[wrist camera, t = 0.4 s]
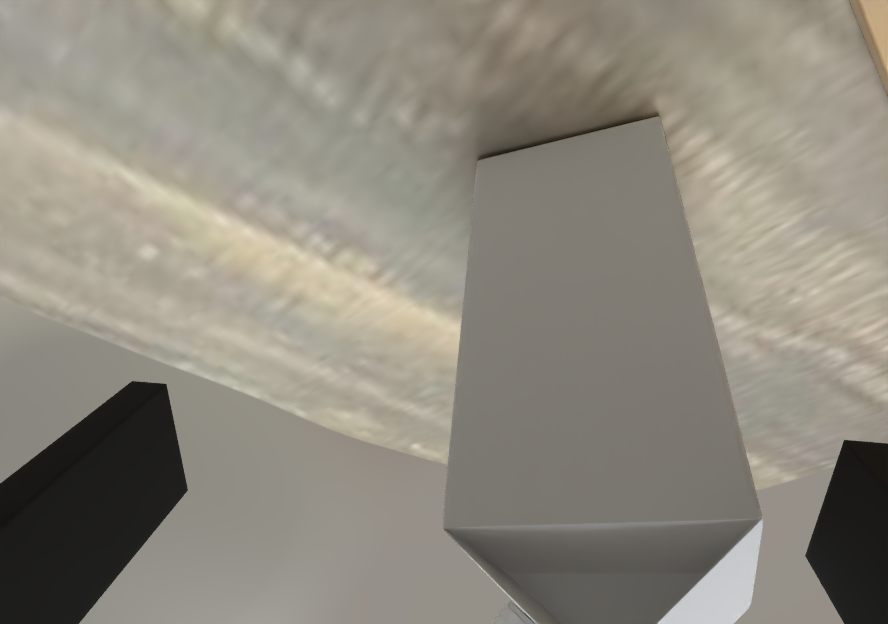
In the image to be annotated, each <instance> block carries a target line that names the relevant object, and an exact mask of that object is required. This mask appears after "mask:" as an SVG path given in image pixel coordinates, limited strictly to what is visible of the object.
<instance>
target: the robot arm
mask: <svg viewBox="0 0 888 624" xmlns="http://www.w3.org/2000/svg"><path fill="white" fill-rule="evenodd" d="M187 490H188V489H187V484H186V479H185V474H184V469H183V465H182V459H181V454H180V449H179V445H178V440H177V435H176V430H175V425H174V420H173V415H172V410H171V405H170V400H169V395H168V390H167V385H166V384H160V383H148V382H136V381H135V382H134V381H132V382H131V383H129V384H128V385H127V386H125V387H124V388H123V389H122V390H120V391H119V392H118V393H116V394H115V395H114V396H113V397H111V398H110V399H109V400H107V401H106V402H105V403H104V404H102V405H101V406H100V407H98V408H97V409H96V410H95V411H93V412H92V413H91V414H89V415H88V416H87V417H86V418H84V419H83V420H82V421H81V422H79V423H78V424H76V425H75V426H74V427H73V428H71V429H70V430H69V431H68V432H66V433H65V434H64V435H62V436H61V437H60V438H58V439H57V440H56V441H55V442H53V443H52V444H51V445H49V446H48V447H47V448H46V449H44V450H43V451H42V452H40V453H39V454H38V455H37V456H35V457H34V458H33V459H31V460H30V461H29V462H28V463H26V464H25V465H24V466H22V467H21V468H20V469H19V470H18V471H16V472H15V473H13V474H12V475H11V476H10V477H8V478H7V479H6V480H5V481H3V482H2V483H0V624H79V623H80V621H81V620H82V619H83V618H84V617H85V615H86V614H87V613H88V612H89V610H90V609H91V608H92V607H93V606H94V604H95V603H96V602H97V601H98V599H99V598H100V597H101V596H102V594H103V593H104V592H105V591H106V590H107V588H108V587H109V586H110V585H111V584H112V582H113V581H114V580H115V579H116V577H117V576H118V575H119V574H120V572H121V571H122V570H123V569H124V568H125V566H126V565H127V564H128V563H129V562H130V560H131V559H132V558H133V557H134V555H135V554H136V553H137V552H138V551H139V549H140V548H141V547H142V546H143V544H144V543H145V542H146V541H147V540H148V538H149V537H150V536H151V535H152V533H153V532H154V531H155V530H156V528H157V527H158V526H159V525H160V524H161V522H162V521H163V520H164V519H165V518H166V516H167V515H168V514H169V513H170V511H171V510H172V509H173V508H174V506H175V505H176V504H177V503H178V502H179V500H180V499H181V498H182V497H183V495H184V494H185V493H186V492H187ZM805 556H806V558H807V560H808V561H809V563H810V565H811V567H812V568H813V570H814V572H815V573H816V575H817V577H818V578H819V580H820V582H821V584H822V586H823V587H824V589H825V591H826V593H827V594H828V596H829V598H830V600H831V601H832V603H833V605H834V607H835V608H836V610H837V612H838V613H839V615H840V617H841V618H842V620H843V622H844V624H888V444H886V443H874V442H862V441H850V440H844V442H843V445H842V448H841V451H840V454H839V457H838V460H837V463H836V466H835V469H834V472H833V475H832V478H831V481H830V484H829V487H828V490H827V493H826V496H825V499H824V502H823V505H822V508H821V511H820V514H819V517H818V520H817V523H816V526H815V529H814V531H813V534H812V537H811V540H810V543H809V546H808V550H807V552H806V555H805Z"/></svg>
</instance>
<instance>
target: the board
mask: <svg viewBox="0 0 888 624" xmlns="http://www.w3.org/2000/svg"><path fill="white" fill-rule="evenodd" d="M849 1H850V4H851V6H852V9H853V11H854V14H855V16H856V18H857V21H858V23H859V26H860V28H861V31H862V33H863V36H864V38H865V41H866V43H867V46H868V48H869V51H870V53H871V56H872V58H873V61H874V63H875V66H876V68H877V71H878V73H879V76H880V78H881V81H882V83H883V86H884V88H885V91H886V93H887V96H888V0H849Z"/></svg>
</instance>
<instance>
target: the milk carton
mask: <svg viewBox="0 0 888 624" xmlns="http://www.w3.org/2000/svg"><path fill="white" fill-rule="evenodd" d="M443 527H444V530H445V531H446V533H447V534H448V535H449V536H450V537H451V538H452V539H453V540H454V541H455V542H456V543H457V545H458V546H459V547H460V548H462V550H463V551H464V552H465V553H466V554H467V555H468V556H469V557H470V558H471V559H472V560H473V561H474V562H475V563H476V564H477V565H478V566H479V567H480V568H481V569H482V570H483V571H484V572H485V573H486V574H487V575H488V576H489V577H490V578H491V579H492V580H493V581H494V582H495V583H496V584H497V585H498V586H499V587H500V588H501V589H502V590H503V591H504V592H505V593H506V594H507V595H508V596H509V597H510V598H511V599H512V600H513V601H514V602H515V603H516V604H517V605H518V606H519V607H520V608H521V609H522V610H523V611H524V612H525V613H523V611H521V610H520V609H519V608H518V607H517V606H516V605H515V604H514V603H513V602H512V601H510V602H509V604H508V605H509V606H507V605H505V606H504V607H503V608H502V609H501V611H500V612H499V614H498V616H497V617H496V618H495V619H494V620H493V621H492V622H491V623H490V624H733V623H734V622H735V621H736V620H737V619H738V618H739V617H740V616H741V615H742V614H743V613H744V612H745V611H746V610H747V609H748V608H749V607H750V604H751V600H752V594H753V587H754V581H755V574H756V568H757V560H758V554H759V547H760V541H761V534H762V527H763V518H762V514H761V510H760V506H759V502H758V498H757V494H756V490H755V486H754V482H753V478H752V474H751V470H750V466H749V462H748V459H747V455H746V451H745V447H744V443H743V439H742V435H741V431H740V427H739V423H738V419H737V415H736V412H735V408H734V404H733V400H732V396H731V392H730V388H729V384H728V380H727V376H726V372H725V368H724V364H723V361H722V357H721V353H720V349H719V345H718V341H717V337H716V333H715V329H714V325H713V321H712V317H711V313H710V310H709V306H708V302H707V298H706V294H705V290H704V286H703V282H702V278H701V274H700V270H699V266H698V263H697V259H696V255H695V251H694V247H693V243H692V239H691V235H690V231H689V227H688V223H687V219H686V215H685V212H684V208H683V204H682V200H681V196H680V192H679V188H678V184H677V180H676V176H675V172H674V168H673V164H672V161H671V157H670V153H669V149H668V145H667V141H666V137H665V133H664V129H663V125H662V122H661V118H660V117H653V118H649V119H645V120H641V121H637V122H633V123H628V124H624V125H620V126H616V127H612V128H608V129H604V130H600V131H596V132H591V133H587V134H583V135H579V136H575V137H571V138H567V139H563V140H559V141H555V142H550V143H546V144H542V145H538V146H534V147H530V148H526V149H522V150H518V151H514V152H510V153H506V154H502V155H498V156H494V157H490V158H486V159H482V160H479V161H478V162H477V167H476V177H475V188H474V198H473V208H472V219H471V229H470V239H469V250H468V260H467V270H466V281H465V291H464V301H463V312H462V322H461V333H460V343H459V353H458V364H457V374H456V384H455V395H454V405H453V415H452V426H451V436H450V446H449V457H448V467H447V478H446V489H445V501H444V517H443Z"/></svg>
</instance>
